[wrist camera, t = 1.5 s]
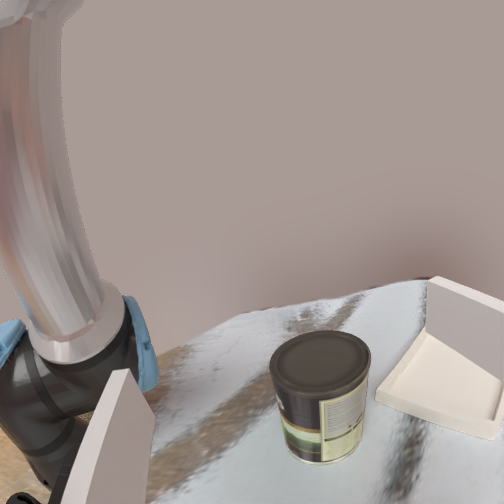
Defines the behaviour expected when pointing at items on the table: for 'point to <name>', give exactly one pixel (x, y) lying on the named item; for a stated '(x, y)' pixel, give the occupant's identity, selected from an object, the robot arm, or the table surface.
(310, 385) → the coffee can
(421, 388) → the serving tray
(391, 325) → the table surface
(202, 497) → the table surface
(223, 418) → the table surface
